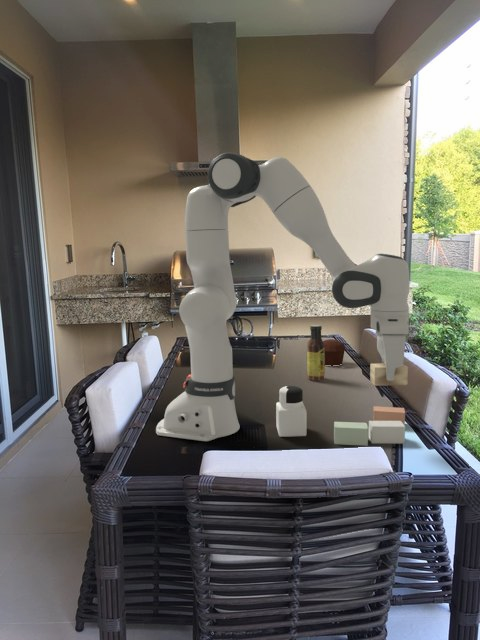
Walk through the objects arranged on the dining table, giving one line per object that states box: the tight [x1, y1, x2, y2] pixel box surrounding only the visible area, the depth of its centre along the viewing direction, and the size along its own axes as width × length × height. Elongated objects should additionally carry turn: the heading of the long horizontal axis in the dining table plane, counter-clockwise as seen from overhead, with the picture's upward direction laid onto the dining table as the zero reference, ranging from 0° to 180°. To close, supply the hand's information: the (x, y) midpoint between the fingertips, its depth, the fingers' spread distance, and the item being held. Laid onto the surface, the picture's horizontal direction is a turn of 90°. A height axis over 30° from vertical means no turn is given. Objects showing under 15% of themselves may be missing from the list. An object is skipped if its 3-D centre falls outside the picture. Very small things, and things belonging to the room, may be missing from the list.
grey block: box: [368, 420, 406, 444], centre depth 125 cm, size 8×4×4 cm, turn 87°
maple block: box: [369, 362, 409, 387], centre depth 122 cm, size 8×4×4 cm, turn 90°
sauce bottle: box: [306, 324, 326, 382], centre depth 180 cm, size 6×6×20 cm
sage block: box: [333, 421, 369, 447], centre depth 124 cm, size 8×4×4 cm, turn 81°
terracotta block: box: [372, 405, 406, 427], centre depth 135 cm, size 8×4×4 cm, turn 76°
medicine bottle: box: [275, 385, 308, 438], centre depth 131 cm, size 7×7×12 cm
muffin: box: [322, 338, 347, 366], centre depth 203 cm, size 12×11×10 cm
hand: (388, 376), depth 122 cm, fingers closed on maple block, 4 cm apart
